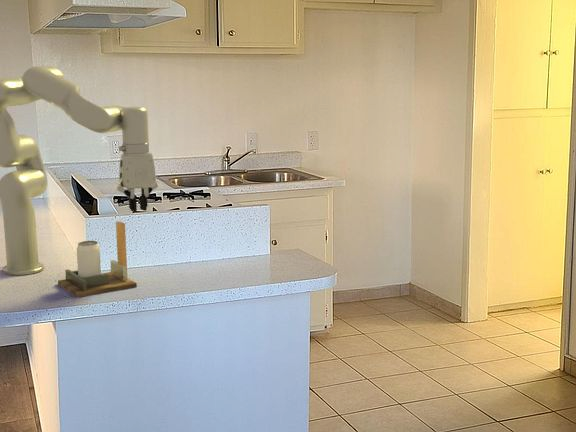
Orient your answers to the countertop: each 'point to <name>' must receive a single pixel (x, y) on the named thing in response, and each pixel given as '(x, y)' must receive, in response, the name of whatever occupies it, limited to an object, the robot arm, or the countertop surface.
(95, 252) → the can
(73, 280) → the can holder
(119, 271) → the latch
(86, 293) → the rail board
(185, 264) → the countertop surface
